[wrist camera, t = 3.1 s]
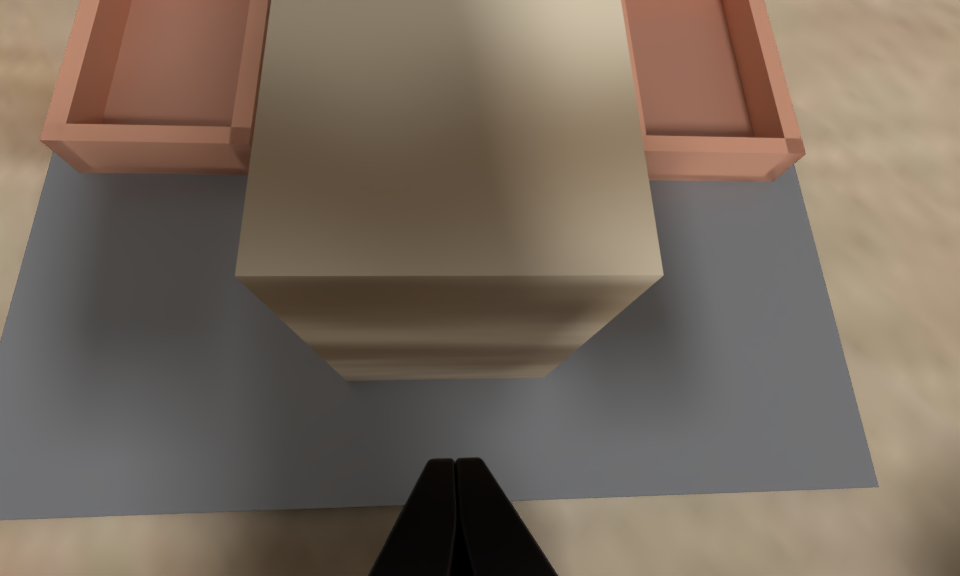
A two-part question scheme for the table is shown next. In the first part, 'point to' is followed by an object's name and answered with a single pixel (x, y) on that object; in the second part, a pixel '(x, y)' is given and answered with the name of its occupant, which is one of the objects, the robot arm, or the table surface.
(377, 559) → the robot arm
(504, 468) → the board
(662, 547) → the table surface
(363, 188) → the birch beam
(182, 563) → the table surface
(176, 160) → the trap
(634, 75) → the pink shallow tray
